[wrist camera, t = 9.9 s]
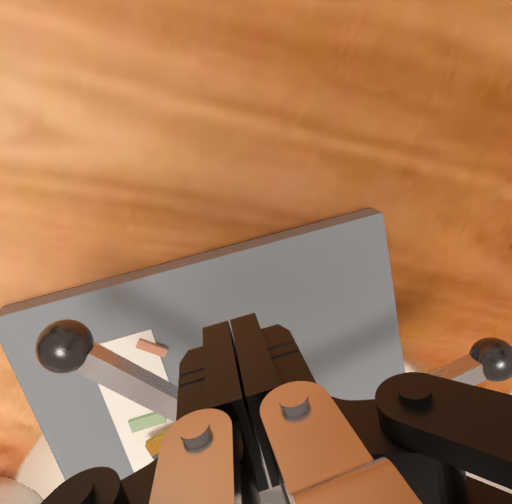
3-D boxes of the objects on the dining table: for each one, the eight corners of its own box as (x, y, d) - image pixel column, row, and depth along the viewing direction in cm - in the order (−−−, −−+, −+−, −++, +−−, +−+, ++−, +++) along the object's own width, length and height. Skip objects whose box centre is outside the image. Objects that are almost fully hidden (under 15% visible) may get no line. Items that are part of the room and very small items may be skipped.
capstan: (393, 139, 25) (480, 138, 18) (477, 432, 33) (562, 516, 25) (53, 291, 24) (-6, 358, 17) (222, 558, 32) (233, 685, 24)
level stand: (370, 207, 29) (386, 213, 27) (402, 428, 35) (418, 449, 33) (3, 306, 26) (-15, 322, 24) (104, 527, 32) (98, 558, 30)
